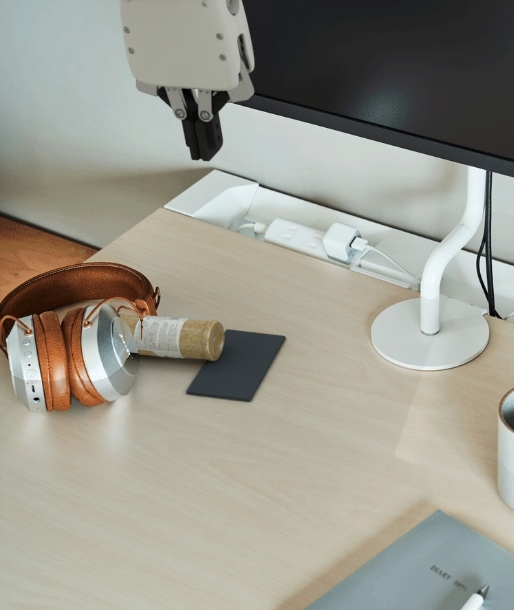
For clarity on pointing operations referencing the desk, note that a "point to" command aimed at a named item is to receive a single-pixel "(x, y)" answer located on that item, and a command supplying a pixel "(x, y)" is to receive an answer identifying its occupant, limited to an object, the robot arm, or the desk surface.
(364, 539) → the desk surface
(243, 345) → the mat
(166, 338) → the brown spice jar
